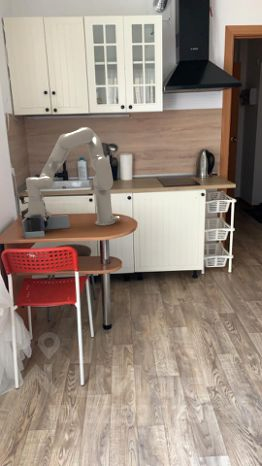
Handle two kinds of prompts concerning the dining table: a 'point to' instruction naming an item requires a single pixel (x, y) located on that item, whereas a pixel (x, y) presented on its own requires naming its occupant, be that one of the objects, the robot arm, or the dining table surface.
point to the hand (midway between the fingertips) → (39, 227)
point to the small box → (37, 224)
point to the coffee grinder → (25, 209)
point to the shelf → (53, 223)
